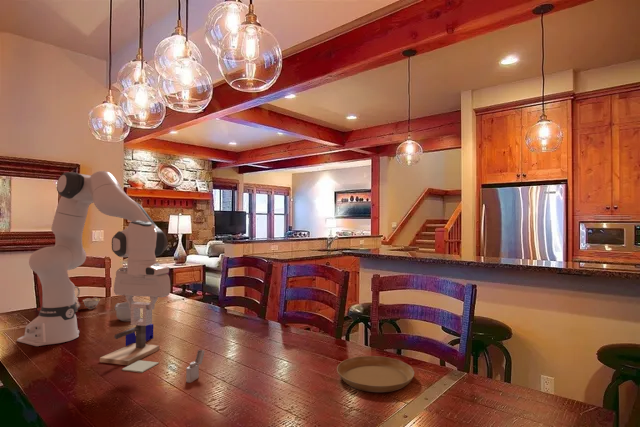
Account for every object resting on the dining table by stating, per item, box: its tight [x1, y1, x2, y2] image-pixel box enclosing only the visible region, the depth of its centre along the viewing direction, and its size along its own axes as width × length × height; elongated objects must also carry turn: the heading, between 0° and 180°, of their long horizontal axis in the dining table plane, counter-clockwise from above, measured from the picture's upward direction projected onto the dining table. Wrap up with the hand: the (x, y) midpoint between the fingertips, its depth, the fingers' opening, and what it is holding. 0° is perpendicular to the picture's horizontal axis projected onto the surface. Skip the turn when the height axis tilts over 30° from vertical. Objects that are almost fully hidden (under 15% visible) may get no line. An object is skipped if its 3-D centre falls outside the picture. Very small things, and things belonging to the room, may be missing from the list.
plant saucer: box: [336, 355, 415, 393], centre depth 117 cm, size 24×24×3 cm
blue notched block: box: [125, 323, 154, 346], centre depth 152 cm, size 12×4×6 cm, turn 164°
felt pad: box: [121, 359, 159, 374], centre depth 126 cm, size 8×8×1 cm
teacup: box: [114, 301, 137, 322], centre depth 186 cm, size 14×11×8 cm
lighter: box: [185, 349, 206, 383], centre depth 118 cm, size 7×2×8 cm, turn 162°
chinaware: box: [75, 286, 101, 313], centre depth 201 cm, size 28×17×17 cm, turn 178°
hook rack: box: [99, 317, 161, 366], centre depth 137 cm, size 12×16×12 cm
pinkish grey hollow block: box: [130, 301, 153, 326], centre depth 127 cm, size 6×3×7 cm, turn 76°
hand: (141, 308), depth 127 cm, fingers closed on pinkish grey hollow block, 6 cm apart
